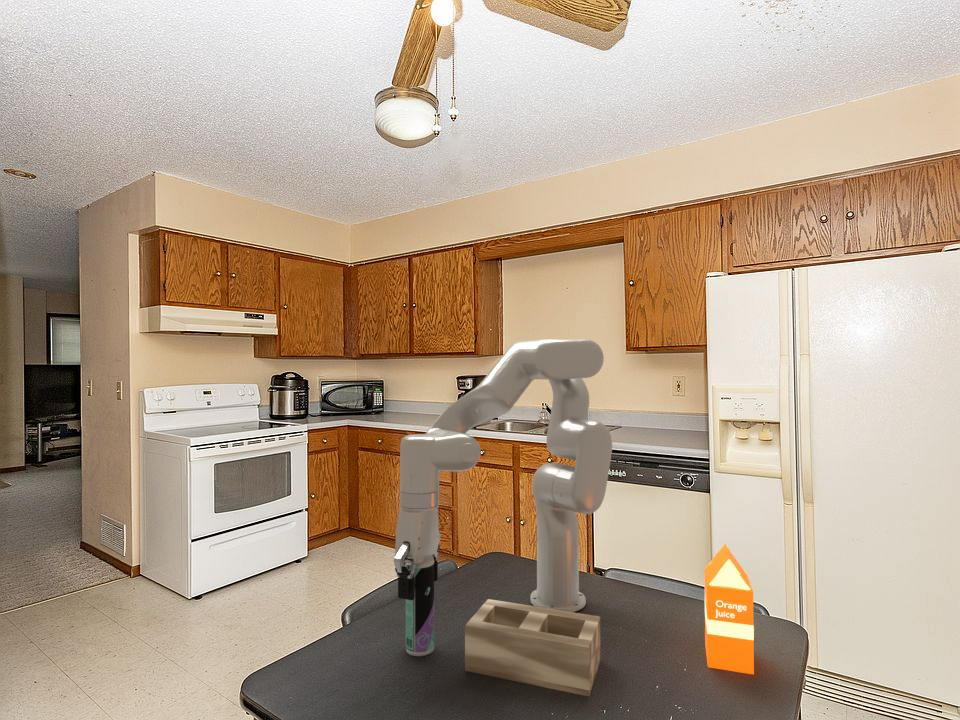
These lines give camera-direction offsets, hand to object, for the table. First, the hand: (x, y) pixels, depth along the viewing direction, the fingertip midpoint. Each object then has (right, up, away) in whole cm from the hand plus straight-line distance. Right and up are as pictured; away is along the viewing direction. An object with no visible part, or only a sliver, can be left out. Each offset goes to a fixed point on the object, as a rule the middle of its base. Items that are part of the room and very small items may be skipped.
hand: (418, 588), depth 106 cm
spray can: (0, -12, 0) cm, 12 cm away
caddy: (+22, -11, -6) cm, 25 cm away
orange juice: (+58, -12, -4) cm, 59 cm away
